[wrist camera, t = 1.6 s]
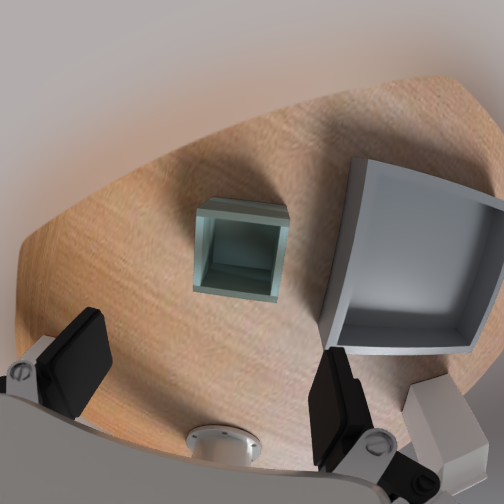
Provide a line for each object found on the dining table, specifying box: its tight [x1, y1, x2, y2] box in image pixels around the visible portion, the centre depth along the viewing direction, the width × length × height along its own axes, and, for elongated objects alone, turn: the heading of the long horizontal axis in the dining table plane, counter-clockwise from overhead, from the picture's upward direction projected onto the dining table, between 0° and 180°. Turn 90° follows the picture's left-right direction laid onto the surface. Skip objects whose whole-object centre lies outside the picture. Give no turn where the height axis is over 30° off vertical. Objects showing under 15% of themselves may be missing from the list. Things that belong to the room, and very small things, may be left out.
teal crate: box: [193, 197, 290, 303], centre depth 25 cm, size 7×7×6 cm
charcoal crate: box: [318, 158, 504, 355], centre depth 25 cm, size 18×20×5 cm
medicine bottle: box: [20, 335, 55, 365], centre depth 31 cm, size 7×7×12 cm
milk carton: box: [402, 374, 489, 496], centre depth 25 cm, size 7×7×19 cm
